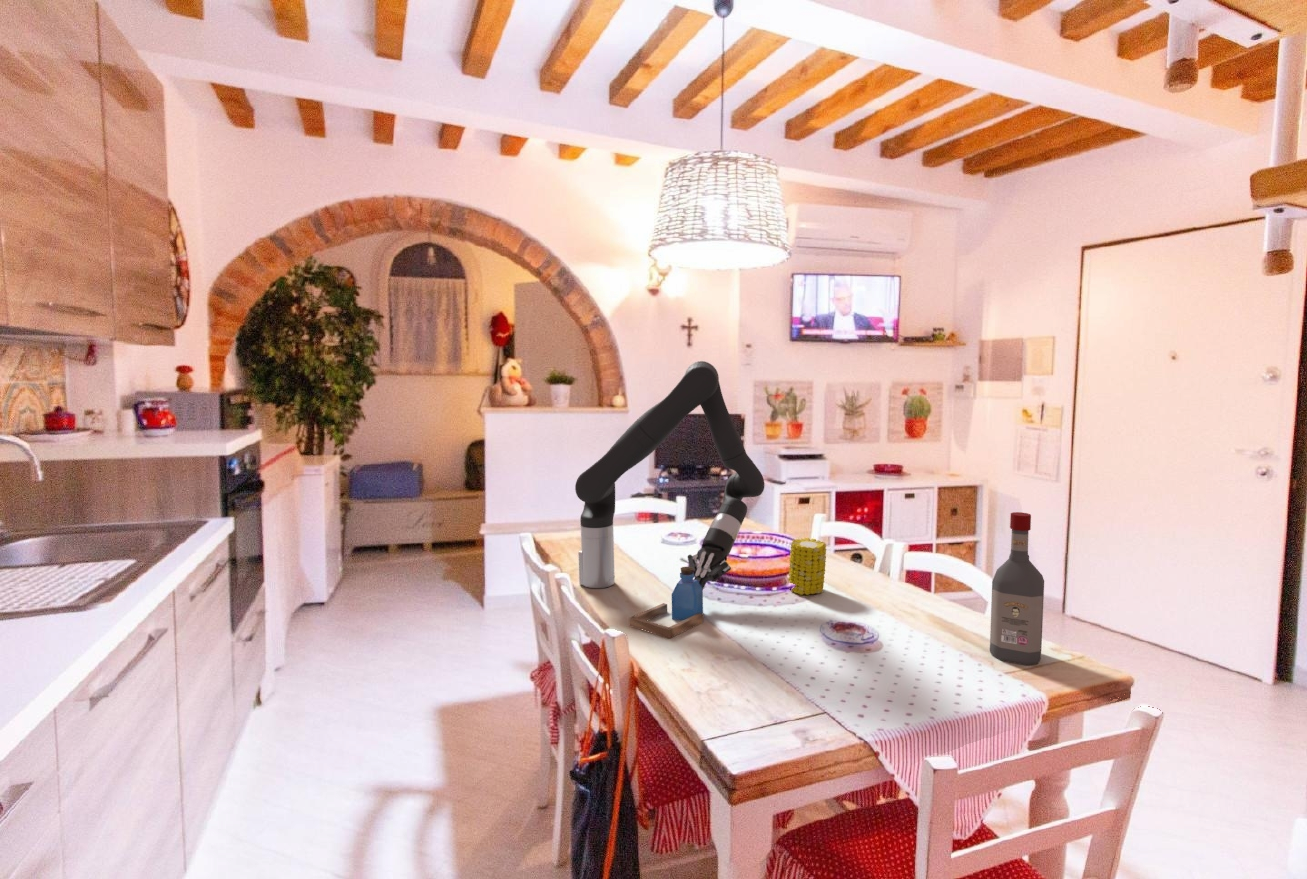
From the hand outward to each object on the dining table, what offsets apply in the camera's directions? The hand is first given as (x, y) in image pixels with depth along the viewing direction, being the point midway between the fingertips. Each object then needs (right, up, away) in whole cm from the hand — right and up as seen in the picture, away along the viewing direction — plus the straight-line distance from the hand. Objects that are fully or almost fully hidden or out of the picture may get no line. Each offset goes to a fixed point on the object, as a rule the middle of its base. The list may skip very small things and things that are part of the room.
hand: (694, 592), depth 171 cm
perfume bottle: (-2, -5, -3) cm, 6 cm away
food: (+31, -3, +14) cm, 34 cm away
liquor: (+65, -7, -29) cm, 72 cm away
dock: (-7, -6, -8) cm, 12 cm away
